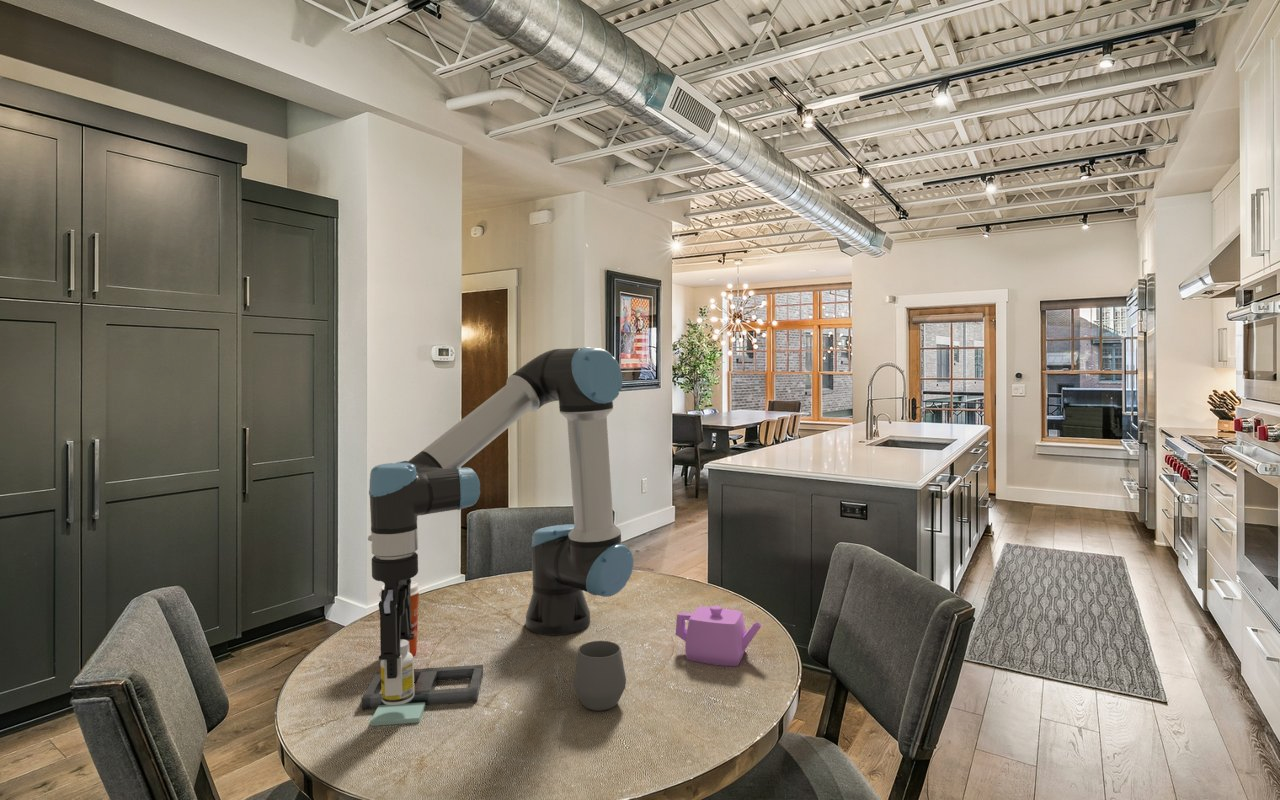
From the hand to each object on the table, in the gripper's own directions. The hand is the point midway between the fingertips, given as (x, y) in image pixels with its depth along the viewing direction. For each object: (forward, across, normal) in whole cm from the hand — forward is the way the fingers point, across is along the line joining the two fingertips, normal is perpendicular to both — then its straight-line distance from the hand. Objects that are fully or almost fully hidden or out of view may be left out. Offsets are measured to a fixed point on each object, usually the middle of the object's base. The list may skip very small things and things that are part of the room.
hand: (397, 685), depth 118 cm
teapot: (+6, -16, +61) cm, 63 cm away
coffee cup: (+6, -26, -5) cm, 27 cm away
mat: (+5, 0, 0) cm, 5 cm away
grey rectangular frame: (+5, -9, +3) cm, 11 cm away
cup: (+6, +1, +35) cm, 35 cm away
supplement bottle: (+3, 0, 0) cm, 3 cm away
